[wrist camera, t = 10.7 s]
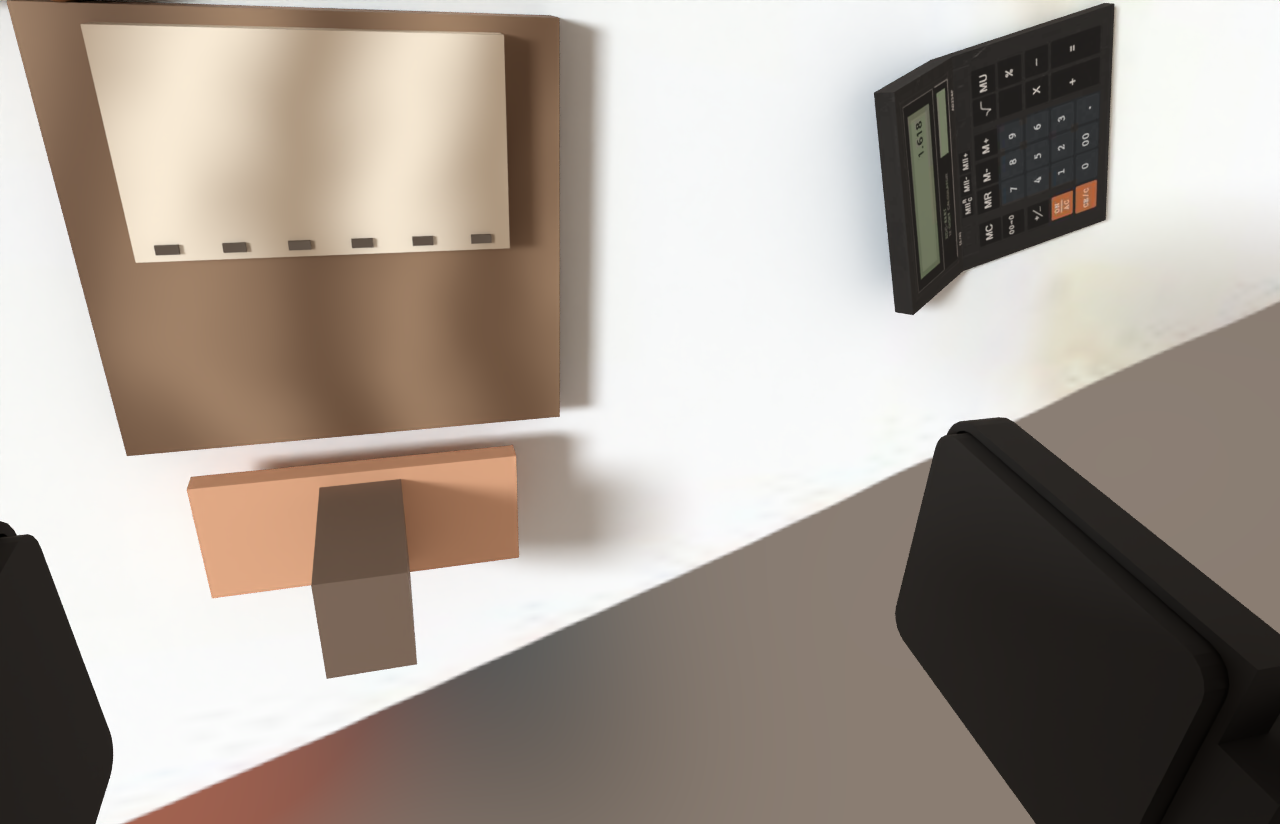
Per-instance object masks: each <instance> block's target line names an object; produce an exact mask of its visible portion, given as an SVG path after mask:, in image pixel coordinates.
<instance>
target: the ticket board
mask: <svg viewBox="0 0 1280 824" xmlns="http://www.w3.org/2000/svg"><path fill="white" fill-rule="evenodd" d="M7 5H8V9H9V12H10V16H11V20H12V24H13V28H14V31H15V35H16V39H17V43H18V46H19V50H20V54H21V58H22V62H23V65H24V69H25V73H26V77H27V80H28V84H29V88H30V92H31V96H32V99H33V103H34V107H35V111H36V114H37V118H38V122H39V126H40V129H41V133H42V137H43V141H44V145H45V148H46V152H47V156H48V160H49V163H50V167H51V171H52V175H53V179H54V182H55V186H56V190H57V194H58V197H59V201H60V205H61V209H62V213H63V216H64V220H65V224H66V228H67V231H68V235H69V239H70V243H71V247H72V250H73V254H74V258H75V262H76V265H77V269H78V273H79V277H80V281H81V284H82V288H83V292H84V296H85V299H86V303H87V307H88V311H89V315H90V318H91V322H92V326H93V330H94V333H95V337H96V341H97V345H98V348H99V352H100V356H101V360H102V364H103V367H104V371H105V375H106V379H107V382H108V386H109V390H110V394H111V398H112V401H113V405H114V409H115V413H116V416H117V420H118V424H119V428H120V432H121V435H122V439H123V443H124V447H125V450H126V454H127V456H133V455H144V454H155V453H166V452H177V451H188V450H199V449H210V448H221V447H232V446H243V445H254V444H265V443H275V442H286V441H297V440H308V439H319V438H330V437H341V436H352V435H363V434H374V433H385V432H396V431H407V430H418V429H429V428H440V427H451V426H462V425H473V424H484V423H494V422H505V421H516V420H527V419H538V418H549V417H560V222H559V18H558V17H554V16H551V15H521V14H490V13H459V12H428V11H397V10H366V9H335V8H304V7H273V6H242V5H211V4H180V3H149V2H118V1H87V0H77V1H71V2H62V3H61V2H53V1H51V0H7Z"/></svg>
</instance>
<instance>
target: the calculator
mask: <svg viewBox="0 0 1280 824" xmlns="http://www.w3.org/2000/svg"><path fill="white" fill-rule="evenodd" d="M1113 24H1114V4H1109V3H1103V4H1100V5H1097V6H1094V7H1091V8H1088V9H1085V10H1082V11H1079V12H1076V13H1073V14H1070V15H1067V16H1064V17H1061V18H1057V19H1054V20H1051V21H1048V22H1045V23H1042V24H1039V25H1036V26H1033V27H1030V28H1027V29H1024V30H1021V31H1018V32H1015V33H1012V34H1009V35H1006V36H1003V37H1000V38H996V39H993V40H990V41H987V42H984V43H981V44H978V45H975V46H972V47H969V48H966V49H963V50H960V51H957V52H954V53H951V54H948V55H945V56H942V57H938V58H935V59H932V60H930V61H928V62H927V63H925V64H923V65H921V66H920V67H918V68H916V69H914V70H913V71H911V72H909V73H907V74H906V75H904V76H902V77H901V78H899V79H897V80H895V81H894V82H892V83H890V84H888V85H887V86H885V87H883V88H882V89H880V90H878V91H876V92H875V93H874V98H875V108H876V118H877V129H878V139H879V149H880V160H881V170H882V180H883V190H884V201H885V211H886V221H887V232H888V242H889V252H890V262H891V273H892V283H893V293H894V304H895V312H898V313H904V314H910V315H914V314H915V313H916V312H917V311H918V310H919V309H921V308H922V307H923V306H924V305H925V304H926V303H927V302H929V301H930V300H931V299H932V298H933V297H934V296H935V295H936V294H938V293H939V292H940V291H941V290H942V289H943V288H944V287H945V286H947V285H948V284H949V283H950V282H951V281H952V280H953V279H955V278H956V277H957V276H958V275H959V274H960V273H961V272H962V271H964V270H967V269H970V268H973V267H976V266H978V265H981V264H984V263H987V262H990V261H992V260H995V259H998V258H1001V257H1003V256H1006V255H1009V254H1012V253H1015V252H1017V251H1020V250H1023V249H1026V248H1029V247H1031V246H1034V245H1037V244H1040V243H1042V242H1045V241H1048V240H1051V239H1054V238H1056V237H1059V236H1062V235H1065V234H1068V233H1070V232H1073V231H1076V230H1079V229H1081V228H1084V227H1087V226H1090V225H1093V224H1095V223H1098V222H1101V221H1104V220H1106V196H1107V171H1108V147H1109V122H1110V98H1111V73H1112V49H1113Z"/></svg>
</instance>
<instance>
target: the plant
mask: <svg viewBox="0 0 1280 824" xmlns="http://www.w3.org/2000/svg"><path fill="white" fill-rule="evenodd" d="M51 1H53V2H61V3H62V2H71V1H77V0H51Z"/></svg>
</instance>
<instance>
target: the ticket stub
mask: <svg viewBox="0 0 1280 824" xmlns="http://www.w3.org/2000/svg"><path fill="white" fill-rule="evenodd" d="M187 493H188V497H189V501H190V506H191V510H192V514H193V519H194V523H195V527H196V531H197V536H198V540H199V544H200V549H201V553H202V557H203V561H204V566H205V570H206V574H207V579H208V583H209V587H210V591H211V596H212V598H218V597H225V596H233V595H241V594H248V593H256V592H263V591H271V590H278V589H286V588H293V587H301V586H308V585H311V586H312V593H313V599H314V605H315V611H316V617H317V623H318V629H319V635H320V641H321V647H322V653H323V659H324V665H325V671H326V677H327V679H328V678H334V677H340V676H346V675H353V674H359V673H365V672H371V671H378V670H384V669H390V668H396V667H403V666H409V665H415V664H417V658H416V645H415V632H414V619H413V605H412V592H411V579H410V572H413V571H421V570H428V569H436V568H443V567H451V566H458V565H466V564H473V563H481V562H488V561H496V560H503V559H511V558H518V557H519V543H518V506H517V469H516V454H515V451H514V447H513V445H510V446H499V447H489V448H479V449H469V450H459V451H449V452H439V453H429V454H418V455H408V456H398V457H388V458H378V459H368V460H358V461H348V462H337V463H327V464H317V465H307V466H297V467H287V468H277V469H267V470H256V471H246V472H236V473H226V474H216V475H206V476H196V477H191V478H190V481H189V484H188V487H187Z"/></svg>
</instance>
